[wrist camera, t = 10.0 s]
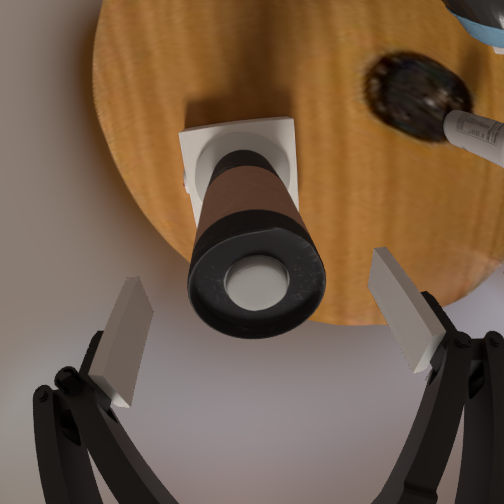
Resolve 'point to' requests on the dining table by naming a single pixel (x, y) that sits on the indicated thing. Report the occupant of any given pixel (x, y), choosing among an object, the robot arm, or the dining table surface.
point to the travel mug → (252, 253)
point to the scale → (237, 138)
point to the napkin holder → (498, 50)
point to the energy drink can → (476, 135)
